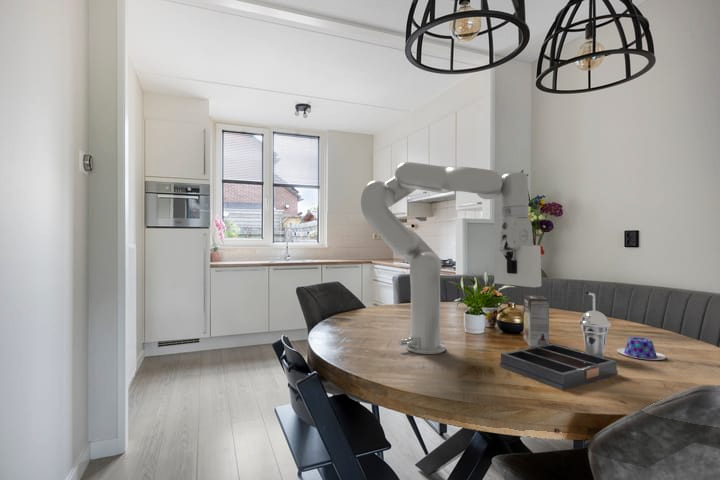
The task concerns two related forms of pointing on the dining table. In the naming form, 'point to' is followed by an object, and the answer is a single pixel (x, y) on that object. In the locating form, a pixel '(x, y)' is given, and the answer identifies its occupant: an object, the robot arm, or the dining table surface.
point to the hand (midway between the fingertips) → (516, 272)
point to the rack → (558, 365)
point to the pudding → (641, 349)
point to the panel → (519, 267)
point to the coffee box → (536, 320)
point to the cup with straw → (594, 330)
